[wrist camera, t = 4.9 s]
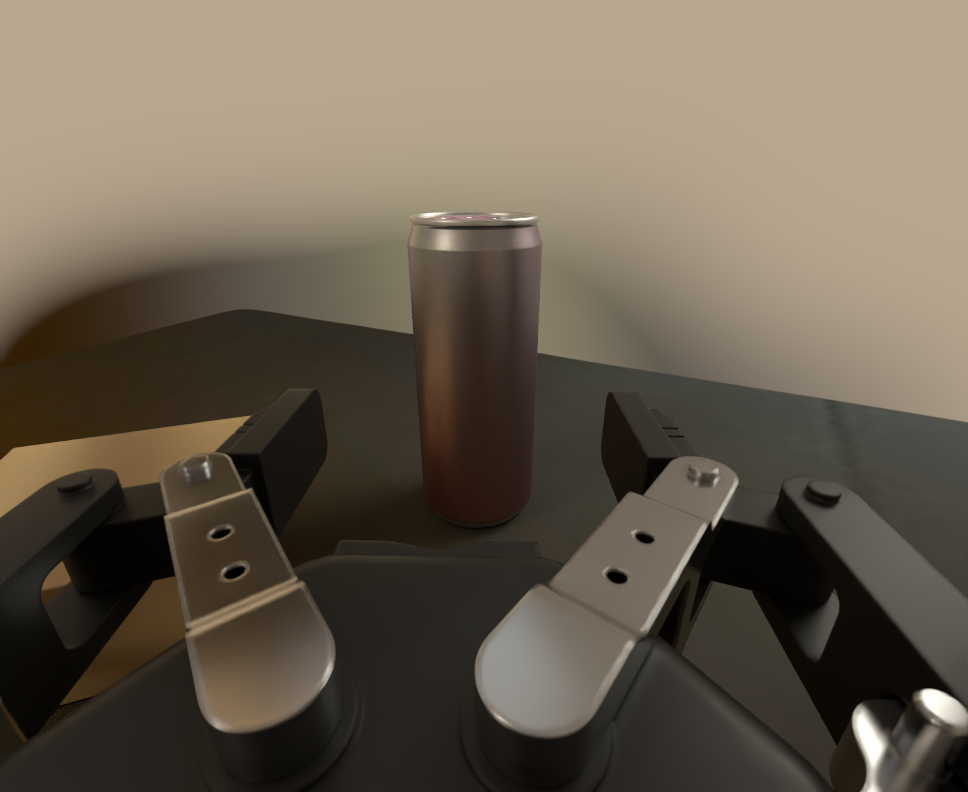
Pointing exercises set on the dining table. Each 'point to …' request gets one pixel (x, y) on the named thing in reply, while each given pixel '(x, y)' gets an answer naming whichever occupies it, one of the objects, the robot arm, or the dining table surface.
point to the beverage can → (476, 359)
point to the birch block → (135, 464)
